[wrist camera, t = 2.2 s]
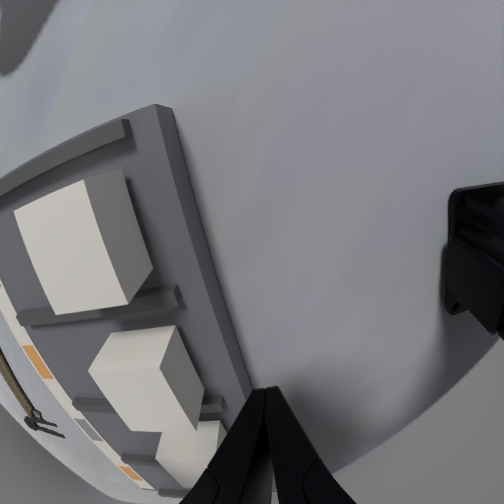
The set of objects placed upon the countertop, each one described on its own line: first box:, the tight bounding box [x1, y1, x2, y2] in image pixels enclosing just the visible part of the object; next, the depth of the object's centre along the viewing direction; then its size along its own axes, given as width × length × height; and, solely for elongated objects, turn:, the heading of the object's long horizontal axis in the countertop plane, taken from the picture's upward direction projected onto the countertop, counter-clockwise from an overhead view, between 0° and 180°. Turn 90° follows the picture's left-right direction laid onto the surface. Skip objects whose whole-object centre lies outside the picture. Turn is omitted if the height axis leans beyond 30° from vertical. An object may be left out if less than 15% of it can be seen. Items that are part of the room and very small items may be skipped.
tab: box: [88, 325, 204, 432], centre depth 11 cm, size 3×4×2 cm
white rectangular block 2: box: [155, 420, 227, 488], centre depth 13 cm, size 3×4×2 cm
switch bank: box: [0, 104, 277, 498], centre depth 14 cm, size 12×25×3 cm, turn 13°
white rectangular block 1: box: [14, 168, 153, 315], centre depth 9 cm, size 3×4×2 cm
